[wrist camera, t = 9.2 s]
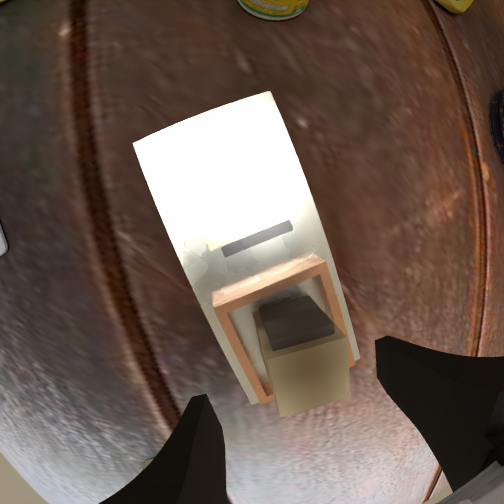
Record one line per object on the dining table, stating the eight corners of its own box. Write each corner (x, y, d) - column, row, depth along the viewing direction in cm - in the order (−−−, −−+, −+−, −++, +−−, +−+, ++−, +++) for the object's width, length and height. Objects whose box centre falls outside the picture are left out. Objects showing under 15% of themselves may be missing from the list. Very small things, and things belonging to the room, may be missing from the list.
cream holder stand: (250, 398, 22) (263, 461, 15) (135, 145, 17) (96, 122, 11) (356, 353, 22) (398, 402, 15) (267, 94, 18) (293, 50, 11)
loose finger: (263, 362, 20) (280, 417, 14) (249, 303, 19) (264, 348, 13) (318, 347, 20) (350, 396, 15) (309, 288, 19) (345, 326, 14)
